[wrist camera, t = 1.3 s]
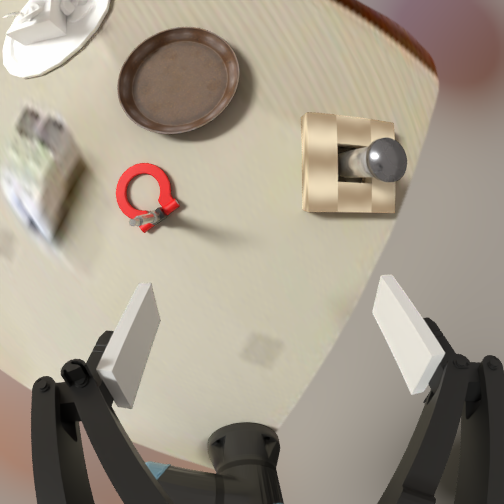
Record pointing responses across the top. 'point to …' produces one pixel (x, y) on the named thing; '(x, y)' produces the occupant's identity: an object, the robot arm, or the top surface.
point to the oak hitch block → (326, 165)
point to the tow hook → (165, 199)
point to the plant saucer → (178, 80)
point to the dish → (49, 34)
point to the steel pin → (374, 161)
